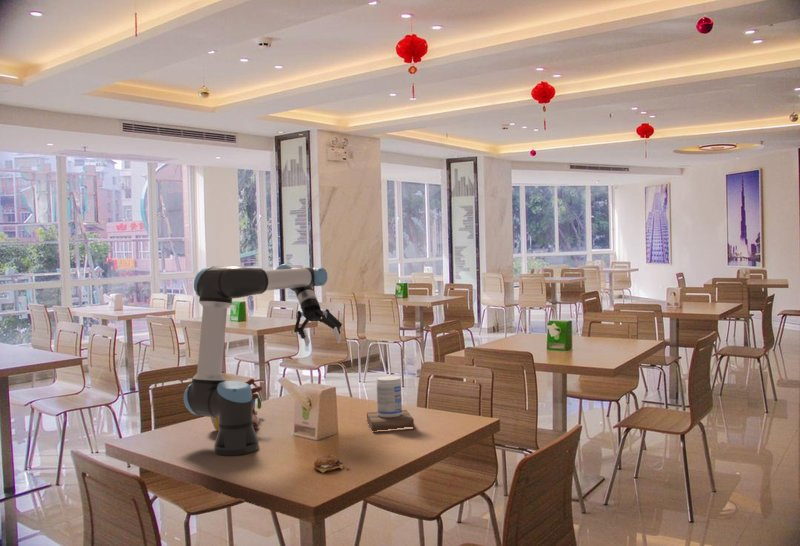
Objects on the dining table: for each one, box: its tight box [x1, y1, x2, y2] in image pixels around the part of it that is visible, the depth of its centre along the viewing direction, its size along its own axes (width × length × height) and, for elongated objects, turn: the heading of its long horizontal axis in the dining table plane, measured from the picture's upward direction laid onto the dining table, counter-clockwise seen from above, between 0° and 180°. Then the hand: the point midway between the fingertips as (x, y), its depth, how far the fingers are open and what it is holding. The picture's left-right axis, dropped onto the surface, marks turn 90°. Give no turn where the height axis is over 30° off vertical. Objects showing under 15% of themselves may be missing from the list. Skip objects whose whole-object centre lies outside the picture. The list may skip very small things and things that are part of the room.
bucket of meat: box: [210, 378, 263, 431], centre depth 271 cm, size 20×16×20 cm
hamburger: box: [313, 454, 349, 474], centre depth 218 cm, size 14×14×6 cm
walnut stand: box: [366, 409, 415, 432], centre depth 269 cm, size 16×16×4 cm
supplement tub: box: [376, 375, 403, 418], centre depth 269 cm, size 10×10×15 cm
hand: (324, 342), depth 276 cm, fingers open, 13 cm apart
